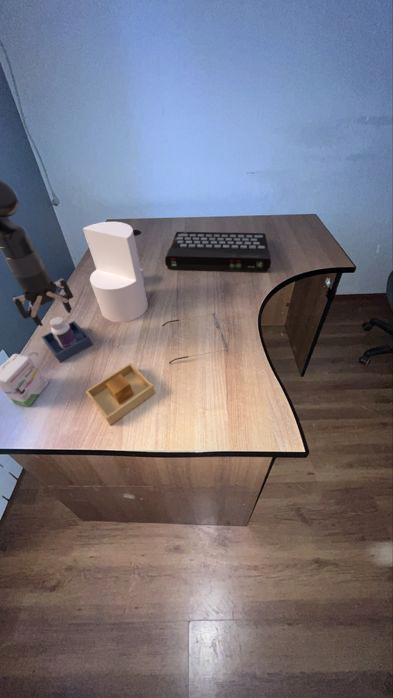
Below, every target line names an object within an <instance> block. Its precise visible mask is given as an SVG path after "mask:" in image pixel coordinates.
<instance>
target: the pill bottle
mask: <svg viewBox="0 0 393 698" xmlns="http://www.w3.org/2000/svg"><path fill="white" fill-rule="evenodd" d="M49 325H50V327H51V328H50V332H52V334H53V335H54V337H55V339H56V340H57V342H58V344H59V345H60V347H61V348H63V349H66V348H68V347H69V346H71V345H73V344H75V343H77V340H76V337H75V336H74V334H73V332H72V330H71V328H70V326H69V322H66V321H65V319H64V318H63V317H61V316H57V317H54V318H52V319H51V320H50V321H49Z"/></svg>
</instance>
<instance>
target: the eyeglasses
mask: <svg viewBox="0 0 393 698" xmlns="http://www.w3.org/2000/svg"><path fill="white" fill-rule="evenodd" d="M211 315H212V316H213V321H214V325H215V327H216V328H219V329H220V331H221V342H222V345H223V347H224V351H228V350H229V346H228V341H227V337H226V336H225V334H224V331H223V328H222V325H221V323H219V318H218V316H217V313H216V312H213V313H210V314H209V316H211ZM199 317H202V315H201V316H200V315H199V316H198V318H199ZM203 317H207V314H206V315H203ZM195 318H196V316H194V317H192V319H195ZM189 319H190V317H188V318H186V320H189ZM182 320H185V318H182V319H174V320H168V321H167V322H165V323H163V324H162V325H161V326H162V327H165V325H167V324H169V323H174V322H180V321H182ZM222 351H223V349H221V350H219V352H222ZM216 352H218V350H215V351H214V353H216ZM211 353H213V351H209V354H211ZM206 354H208V352H205V353H203V355H206ZM200 355H201V356H202V353H199V354H198V356H200ZM190 357H192V355H189V356H188V355H187V356H182V357H176V358H173V359H172V360H171V361H169V362H168V364H172V363H173V362H175V361H177V360H182V359H186V358H188V359H189V358H190ZM193 357H197V354H194V355H193Z"/></svg>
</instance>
